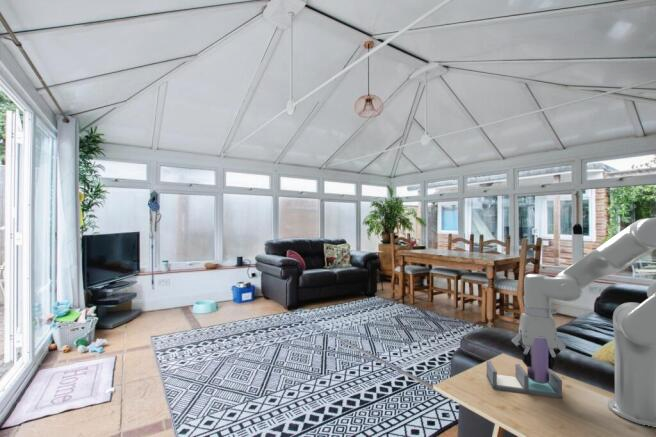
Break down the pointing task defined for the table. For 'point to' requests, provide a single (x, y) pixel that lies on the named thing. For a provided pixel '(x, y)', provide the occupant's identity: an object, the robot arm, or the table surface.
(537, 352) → the beverage can
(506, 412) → the table surface
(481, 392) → the table surface
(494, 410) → the table surface
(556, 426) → the table surface
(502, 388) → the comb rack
